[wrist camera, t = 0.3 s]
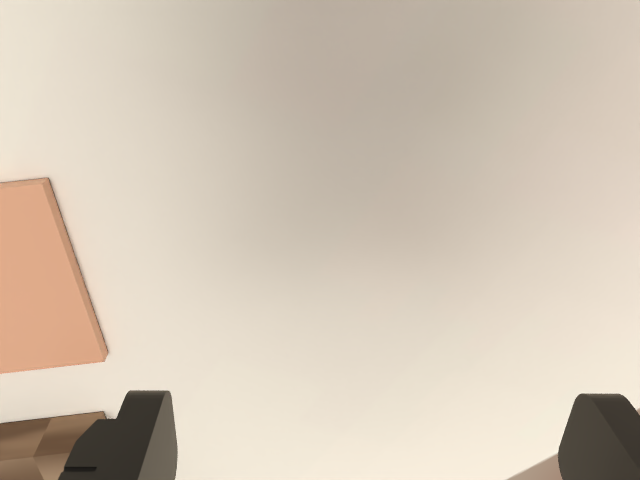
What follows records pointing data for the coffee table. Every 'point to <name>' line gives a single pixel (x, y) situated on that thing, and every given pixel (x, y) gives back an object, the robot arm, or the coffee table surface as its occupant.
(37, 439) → the collar
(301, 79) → the coffee table surface
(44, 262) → the pad
